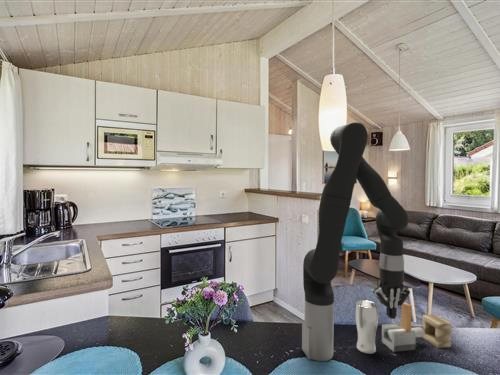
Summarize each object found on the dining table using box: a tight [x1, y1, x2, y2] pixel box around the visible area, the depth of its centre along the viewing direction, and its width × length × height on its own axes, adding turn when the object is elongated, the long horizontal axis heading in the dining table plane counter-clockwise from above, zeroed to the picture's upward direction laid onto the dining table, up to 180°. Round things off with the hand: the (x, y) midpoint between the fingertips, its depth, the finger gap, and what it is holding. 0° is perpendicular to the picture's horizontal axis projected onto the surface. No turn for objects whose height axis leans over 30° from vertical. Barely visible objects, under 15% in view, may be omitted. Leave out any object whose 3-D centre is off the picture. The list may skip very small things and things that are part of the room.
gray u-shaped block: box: [381, 322, 417, 353], centre depth 99 cm, size 8×6×6 cm
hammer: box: [388, 302, 425, 340], centre depth 100 cm, size 12×3×12 cm, turn 100°
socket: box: [421, 313, 452, 349], centre depth 102 cm, size 5×7×8 cm
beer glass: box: [355, 299, 379, 355], centre depth 97 cm, size 7×7×15 cm
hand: (391, 317), depth 99 cm, fingers closed
